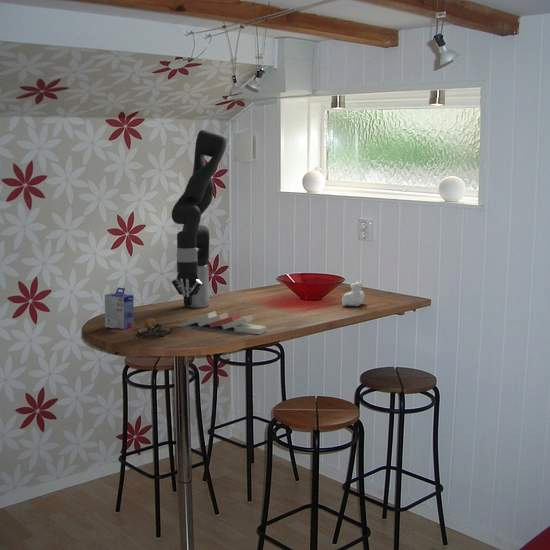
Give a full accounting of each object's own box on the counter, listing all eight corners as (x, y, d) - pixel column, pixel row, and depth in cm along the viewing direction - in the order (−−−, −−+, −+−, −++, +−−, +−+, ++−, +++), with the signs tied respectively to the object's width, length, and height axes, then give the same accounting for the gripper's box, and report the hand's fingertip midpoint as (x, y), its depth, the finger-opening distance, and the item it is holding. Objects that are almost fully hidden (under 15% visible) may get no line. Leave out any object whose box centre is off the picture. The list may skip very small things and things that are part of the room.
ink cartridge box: (135, 327, 276) (134, 288, 274) (124, 330, 272) (123, 291, 269) (115, 324, 281) (113, 286, 279) (104, 327, 277) (103, 288, 274)
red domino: (209, 323, 272) (231, 316, 267) (217, 320, 277) (239, 313, 272) (210, 328, 272) (233, 321, 267) (218, 325, 277) (240, 318, 272)
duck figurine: (344, 312, 312) (356, 293, 305) (334, 299, 316) (346, 280, 309) (364, 308, 319) (377, 290, 312) (354, 295, 323) (366, 277, 316)
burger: (174, 337, 263) (174, 316, 262) (140, 340, 259) (139, 318, 258) (167, 329, 274) (166, 309, 273) (134, 332, 270) (133, 311, 269)
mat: (175, 327, 276) (175, 325, 276) (193, 321, 286) (193, 320, 286) (244, 336, 263) (244, 334, 263) (260, 329, 272) (260, 328, 272)
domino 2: (197, 322, 275) (219, 315, 270) (205, 319, 279) (227, 312, 274) (199, 326, 275) (220, 319, 270) (207, 323, 279) (228, 317, 274)
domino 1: (186, 320, 277) (207, 313, 272) (194, 317, 282) (215, 310, 277) (187, 325, 277) (209, 318, 272) (196, 322, 282) (217, 315, 277)
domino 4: (234, 326, 267) (259, 329, 263) (242, 323, 272) (266, 326, 267) (234, 331, 268) (259, 334, 263) (242, 328, 272) (266, 331, 268)
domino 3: (222, 324, 270) (244, 317, 265) (229, 321, 274) (252, 314, 269) (223, 329, 270) (246, 322, 265) (231, 326, 274) (253, 319, 269)
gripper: (208, 259, 277) (208, 306, 280) (178, 257, 283) (179, 302, 286) (196, 262, 270) (197, 310, 273) (166, 259, 276) (167, 306, 279)
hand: (188, 306), depth 279 cm, fingers closed
